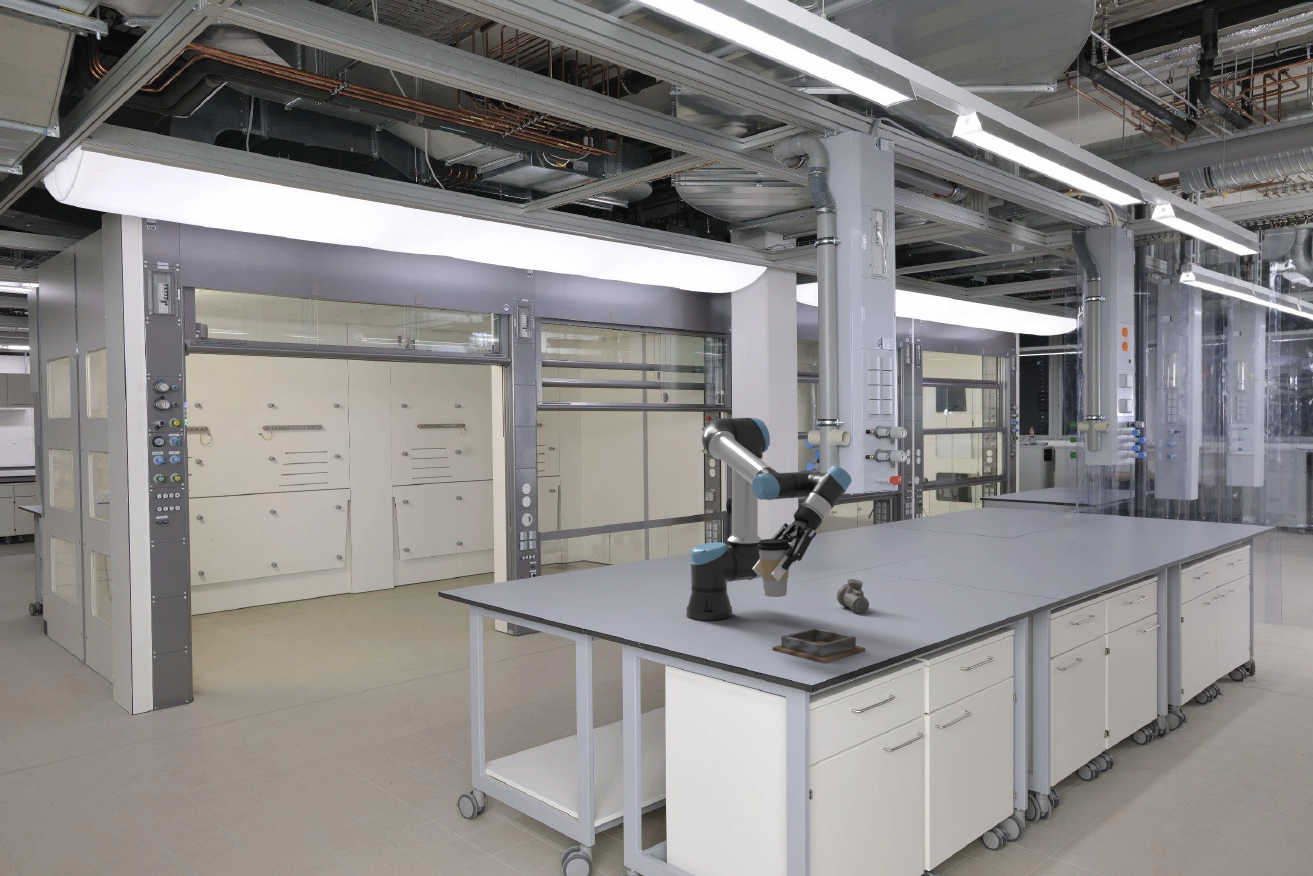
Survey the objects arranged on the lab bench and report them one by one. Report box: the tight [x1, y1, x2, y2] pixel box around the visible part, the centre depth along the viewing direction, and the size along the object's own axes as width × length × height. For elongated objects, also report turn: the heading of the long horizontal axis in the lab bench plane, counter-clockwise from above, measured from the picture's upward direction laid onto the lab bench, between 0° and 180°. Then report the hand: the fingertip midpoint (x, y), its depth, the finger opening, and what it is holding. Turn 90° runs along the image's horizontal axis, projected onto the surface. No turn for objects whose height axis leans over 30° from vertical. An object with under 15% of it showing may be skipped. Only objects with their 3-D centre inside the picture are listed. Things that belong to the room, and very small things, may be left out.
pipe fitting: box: [836, 578, 870, 615], centre depth 293 cm, size 12×8×10 cm
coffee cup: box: [757, 538, 791, 598], centre depth 243 cm, size 9×9×15 cm
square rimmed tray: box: [771, 627, 866, 664], centre depth 244 cm, size 18×18×4 cm
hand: (765, 574), depth 242 cm, fingers closed on coffee cup, 9 cm apart
